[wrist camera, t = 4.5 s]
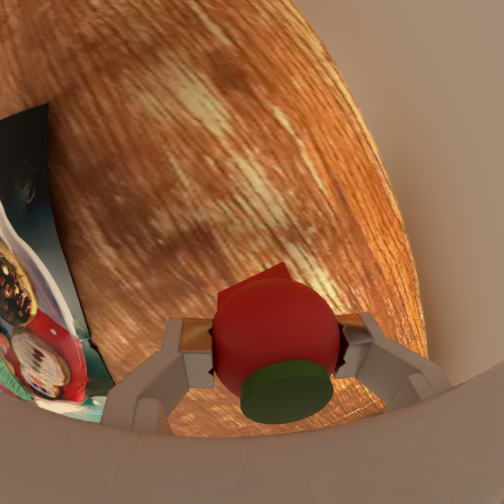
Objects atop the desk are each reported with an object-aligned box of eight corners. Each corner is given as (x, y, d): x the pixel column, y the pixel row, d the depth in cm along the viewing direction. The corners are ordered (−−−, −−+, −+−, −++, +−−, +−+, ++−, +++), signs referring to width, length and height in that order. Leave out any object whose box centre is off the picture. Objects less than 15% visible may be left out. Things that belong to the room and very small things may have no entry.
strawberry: (294, 233, 10) (346, 321, 5) (330, 315, 11) (372, 401, 7) (188, 286, 10) (172, 390, 6) (242, 354, 12) (252, 445, 8)
